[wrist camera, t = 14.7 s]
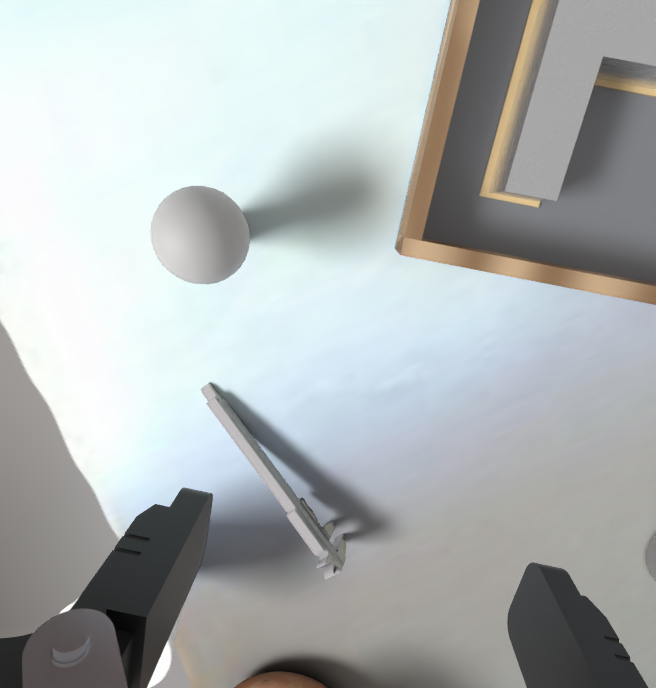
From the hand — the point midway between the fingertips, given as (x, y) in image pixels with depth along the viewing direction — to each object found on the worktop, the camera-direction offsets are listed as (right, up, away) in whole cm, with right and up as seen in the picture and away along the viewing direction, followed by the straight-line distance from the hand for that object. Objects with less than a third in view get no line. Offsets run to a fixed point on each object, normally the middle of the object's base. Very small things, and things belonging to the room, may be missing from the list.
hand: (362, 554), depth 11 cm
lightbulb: (-8, +15, +26) cm, 31 cm away
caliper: (-6, -6, +32) cm, 33 cm away
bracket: (+18, +21, +21) cm, 35 cm away
